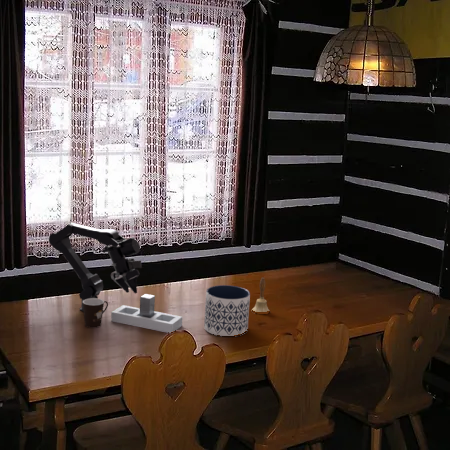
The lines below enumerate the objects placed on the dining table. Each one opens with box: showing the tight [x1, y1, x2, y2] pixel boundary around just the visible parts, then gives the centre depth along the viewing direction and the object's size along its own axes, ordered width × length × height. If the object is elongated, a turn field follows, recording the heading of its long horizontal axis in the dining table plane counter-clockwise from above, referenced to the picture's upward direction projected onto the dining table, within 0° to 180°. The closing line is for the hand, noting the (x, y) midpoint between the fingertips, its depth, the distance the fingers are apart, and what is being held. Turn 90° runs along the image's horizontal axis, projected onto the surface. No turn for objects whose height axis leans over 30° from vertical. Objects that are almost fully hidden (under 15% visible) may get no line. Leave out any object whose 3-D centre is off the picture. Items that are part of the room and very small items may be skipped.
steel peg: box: [139, 293, 156, 318], centre depth 289 cm, size 4×4×12 cm
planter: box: [203, 284, 251, 337], centre depth 287 cm, size 18×18×16 cm
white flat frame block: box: [110, 304, 183, 334], centre depth 289 cm, size 28×10×4 cm, turn 69°
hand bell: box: [251, 277, 270, 312], centre depth 311 cm, size 8×8×16 cm
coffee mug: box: [83, 298, 109, 329], centre depth 284 cm, size 12×9×10 cm
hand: (132, 292), depth 294 cm, fingers open, 9 cm apart
